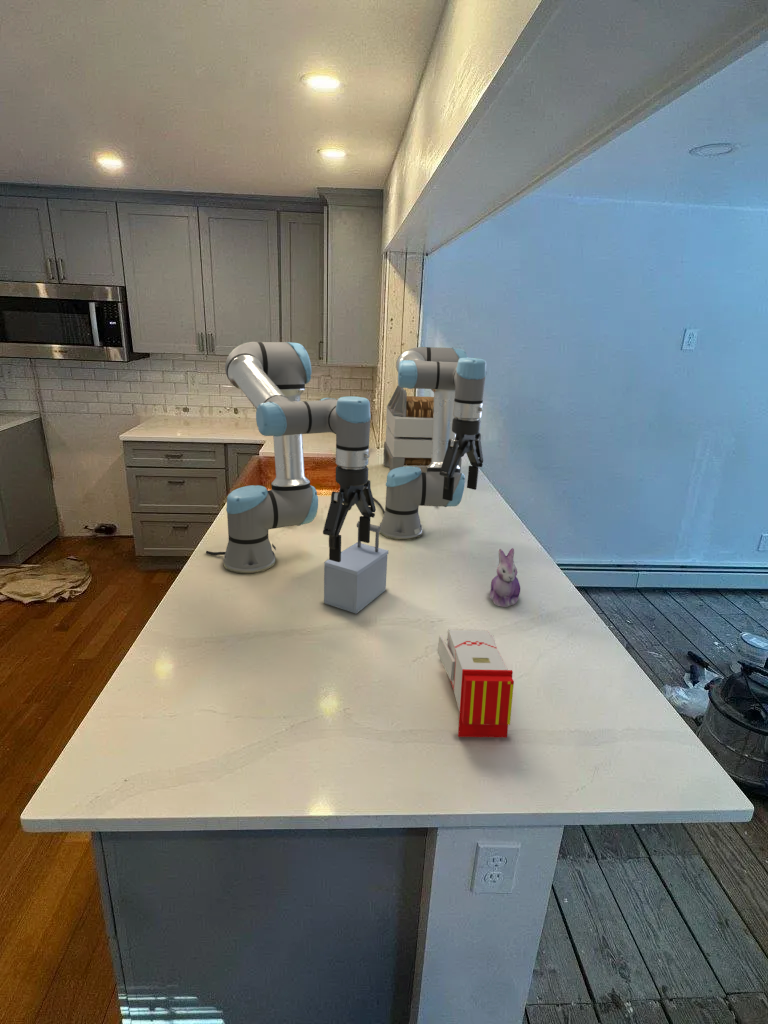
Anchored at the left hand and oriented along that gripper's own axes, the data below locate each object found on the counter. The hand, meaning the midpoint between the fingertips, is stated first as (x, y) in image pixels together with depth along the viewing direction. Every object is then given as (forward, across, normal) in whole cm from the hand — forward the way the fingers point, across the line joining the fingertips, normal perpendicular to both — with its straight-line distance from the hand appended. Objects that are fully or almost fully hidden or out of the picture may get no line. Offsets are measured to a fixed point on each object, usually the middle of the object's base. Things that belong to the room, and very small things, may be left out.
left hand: (350, 550), depth 137 cm
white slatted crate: (+19, +135, +42) cm, 143 cm away
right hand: (-8, +35, -14) cm, 39 cm away
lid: (+8, +12, +5) cm, 15 cm away
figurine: (+19, +32, -31) cm, 49 cm away
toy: (+19, -11, -36) cm, 43 cm away
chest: (+19, +12, +5) cm, 23 cm away
